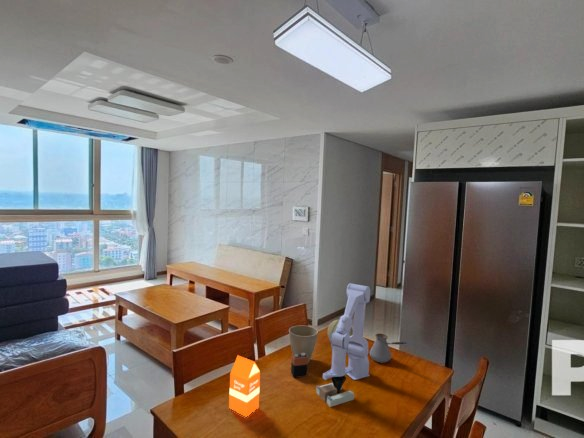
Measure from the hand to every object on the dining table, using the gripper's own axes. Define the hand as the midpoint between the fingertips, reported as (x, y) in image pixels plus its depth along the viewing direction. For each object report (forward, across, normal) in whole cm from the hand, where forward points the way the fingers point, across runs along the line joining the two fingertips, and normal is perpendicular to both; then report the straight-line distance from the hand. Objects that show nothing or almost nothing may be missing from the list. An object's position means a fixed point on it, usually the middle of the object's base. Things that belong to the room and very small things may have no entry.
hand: (337, 392), depth 134 cm
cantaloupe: (+2, -31, -40) cm, 51 cm away
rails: (+1, +1, 0) cm, 2 cm away
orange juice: (+2, +39, -8) cm, 39 cm away
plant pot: (+2, -1, -32) cm, 32 cm away
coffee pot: (+2, -41, -12) cm, 43 cm away
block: (+1, +4, 0) cm, 5 cm away
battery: (+2, +7, -21) cm, 22 cm away
